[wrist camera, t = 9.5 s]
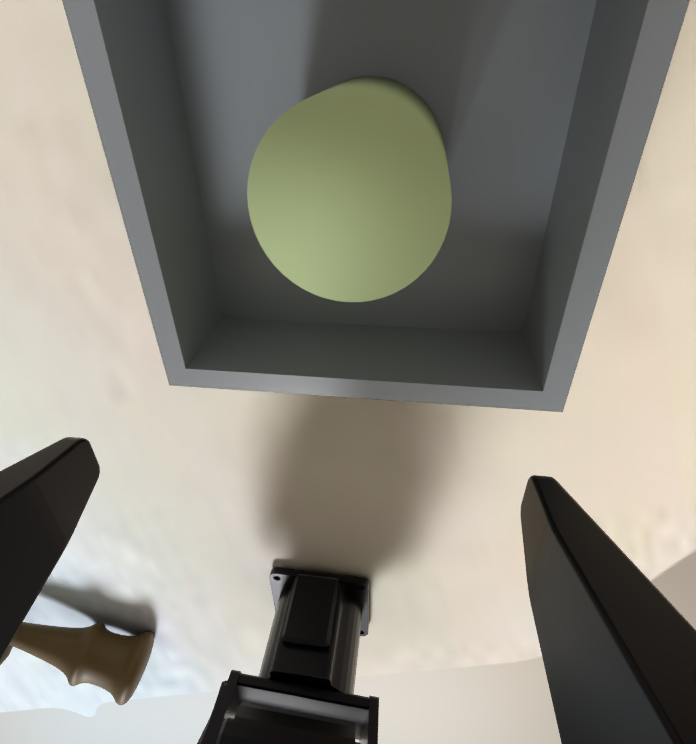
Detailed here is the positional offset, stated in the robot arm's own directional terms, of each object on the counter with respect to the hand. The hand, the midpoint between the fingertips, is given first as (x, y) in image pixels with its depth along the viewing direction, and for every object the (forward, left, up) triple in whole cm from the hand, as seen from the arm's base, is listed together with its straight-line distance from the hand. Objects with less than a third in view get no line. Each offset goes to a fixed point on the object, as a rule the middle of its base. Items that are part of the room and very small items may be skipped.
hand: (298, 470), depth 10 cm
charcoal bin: (+4, 0, -11) cm, 12 cm away
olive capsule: (+4, 0, -11) cm, 11 cm away
